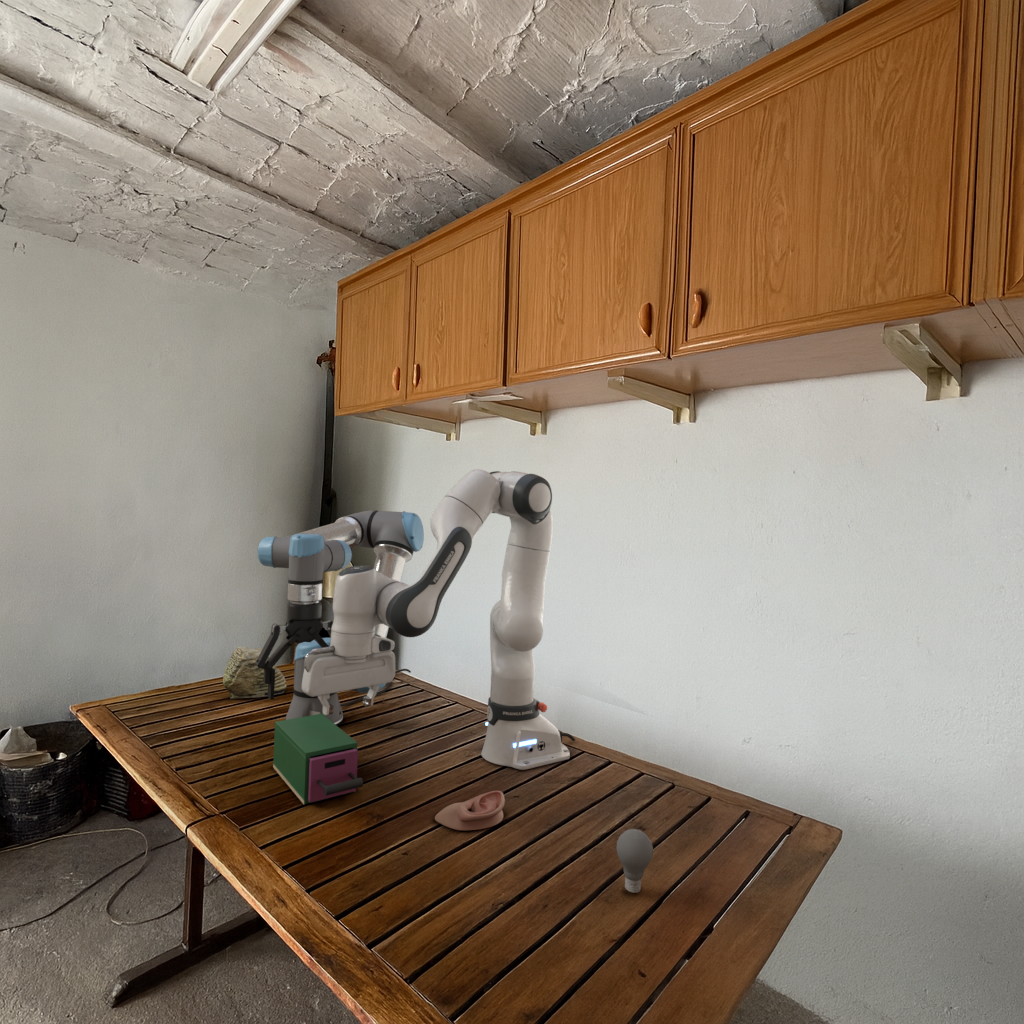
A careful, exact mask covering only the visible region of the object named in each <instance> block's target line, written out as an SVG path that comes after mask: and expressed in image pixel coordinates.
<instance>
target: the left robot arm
mask: <svg viewBox="0 0 1024 1024" xmlns="http://www.w3.org/2000/svg"><path fill="white" fill-rule="evenodd" d="M424 540H425V533H424V526H423V522H422V519H421V517H420V516H419V514H417V513H415V512H408V511H406V510H405V511H404V510H403V511H392V510H391V511H390V510H375V509H373V510H371V509H369V510H362V511H360V512H355V513H352V514H348V515H343V516H341V517H339V518H338V519H336V520H335V522H332V523H329V524H326V525H322V526H318V527H315V528H312V529H308V530H304V531H301V532H298V533H295V534H290V535H287V536H281V537H279V536H266V537H264V538H263V539H262V540H261V541H260V542H259V544H258V547H257V559H258V561H259V563H260V564H261V565H262V566H264V567H270V568H273V569H277V568H278V569H280V568H281V569H288V579H287V581H288V584H287V585H288V586H287V601H289V602H288V603H287V606H286V623H285V624H277V623H272V625H271V629H270V634H269V636H268V637H267V639H266V642H265V643H264V646H263V647H262V648H261V649H262V651H261V653H260V655H259V656H258V658H257V660H256V662H255V665H256V666H257V667H258V668H262V669H264V680H263V681H264V683H265V684H268V696H267V698H269V700H270V701H271V700H275V695H274V688H275V670H274V669H273V668H272V667H273V666H274V665H276V664H277V663H278V662H279V660H280V659H282V657H283V655H284V654H286V652H287V651H288V650H289V648H290V647H292V646H293V645H294V643H296V644H297V645H296V647H295V652H294V659H293V660H294V672H293V695H292V696H293V697H292V699H291V702H290V704H289V708H288V711H287V713H286V715H285V720H288V719H294V718H299V717H305V716H311V715H317V714H323V712H322V711H323V705H322V703H321V702H320V700H319V698H318V696H314V697H311V696H309V695H307V694H305V693H304V692H303V690H302V679H303V673H304V669H305V666H304V663H305V656H306V655H307V654H308V653H309V652H311V651H312V649H315V648H324V647H330V642H331V628H332V624H333V621H334V620H332V619H330V618H329V619H327V620H326V621H322V612H323V611H322V609H323V608H322V607H323V605H322V602H321V601H322V599H323V582H324V581H323V579H324V578H323V576H324V573H328V572H338V571H340V570H344V569H345V568H347V567H348V566H349V565H350V563H351V561H352V558H353V554H352V553H353V552H352V548H365V549H366V548H367V549H373V552H374V553H375V556H376V558H375V561H374V565H373V567H374V568H375V569H376V570H377V571H378V572H380V573H381V574H383V575H385V576H387V577H389V578H391V579H394V580H396V581H399V582H402V578H403V573H404V570H405V566H406V563H408V562H410V561H411V560H412V558H413V556H414V555H413V554H414V553H417V552H420V551H421V550H422V549H423V546H424ZM323 628H324V630H325V631H327V634H328V635H329V637H322V636H321V635H320V633H321V631H322V630H323ZM389 628H390V627H388V626H386V625H384V624H377V625H376V626H375V634H377V635H379V636H382V637H385V638H387V636H388V632H389ZM283 632H285V633H286V636H285V637H284V638H283V641H282V642H281V643H280V644H279V645H278V646H277V648H276V649H275V650H274V651H273V649H274V647H275V645H276V643H277V641H278V639H279V637H280V636H281V635H282V634H283ZM272 651H273V652H272ZM271 652H272V653H271ZM311 654H312V653H311ZM268 656H269V658H268ZM267 658H268V660H267ZM266 660H267V661H266ZM401 672H408V673H412V671H411V670H410V669H408V668H400V669H398V670H395V675H396V674H398V673H401ZM390 684H391V682H390V683H384V684H379V690H378V692H377V693H376V695H375V696H377V695H380V694H383V693H385V692H387V691H388V689H389V687H390ZM385 686H386V687H385ZM384 687H385V688H384ZM383 688H384V689H383ZM369 689H370V688H368V687H363V688H357V689H352V690H349V691H351V692H358V693H361V694H364V693H367V694H368V692H369ZM367 694H366V695H364V696H361V697H359V698H356V699H353V700H351V701H347V702H345V703H341V702H340V699H339V695H338V692H336V693H330V697H329V699H327V701H328V703H329V704H331V705H333V706H334V708H333V714H330V715H324V714H323V715H324V716H326V717H327V718H328V719H329V720H330V721H332V722H333V723H334V724H335V725H336V726H338V727H339V726H340V725H342V723H343V722H344V714H343V709H342V707H346V706H349V705H352V704H354V703H357V702H359V701H362V700H363V697H365V696H367Z"/></svg>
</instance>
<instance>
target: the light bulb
mask: <svg viewBox="0 0 1024 1024" xmlns="http://www.w3.org/2000/svg"><path fill="white" fill-rule="evenodd" d="M615 849H616V854H617V857H618V859H619V861H620V863H621V865H622V867H623V873H624V874H623V875H624V876H625V878H624V888H625V890H627V891H628V892H630V893H634V894H635V893H639V892H640V891H641V889H642V887H641V886H642V879H643V877H644V875H645V871H646V868H647V867H648V866H649V864H650V863H651V861H652V859H653V855H654V847H653V843H652V841H651V838H649V836H648V835H647V834H646V833H645V832H643V831H642V830H641V829H636V828H629V829H627V830H625V831H623V832H622V833H621V834H620V835H619V837H618V839H617V841H616V847H615Z"/></svg>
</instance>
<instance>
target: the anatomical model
mask: <svg viewBox="0 0 1024 1024" xmlns="http://www.w3.org/2000/svg"><path fill="white" fill-rule="evenodd" d="M505 803H506V800H505V795H504V792H502V791H501V790H492V791H488V792H485V793H481V794H479V795H477V796H474V797H472V798H470V799H468V800H465V801H461V802H455V803H452V804H448V805H446V807H443V808H442V809H441V810H439V811H438V813H436V815H435V816H434V820H435V821H436V822H437V823H439V824H440V825H442V826H445V827H446V828H449V829H452V830H455V831H476V830H483V829H487V828H491V827H494V826H497V825H498V824H500V823H501V822H502V821H503V819H504V811H503V809H504V806H505Z"/></svg>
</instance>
